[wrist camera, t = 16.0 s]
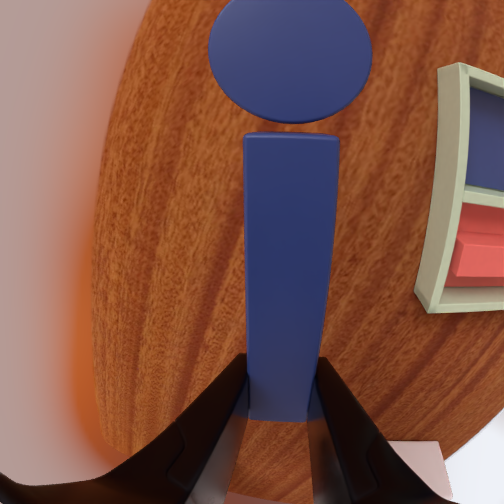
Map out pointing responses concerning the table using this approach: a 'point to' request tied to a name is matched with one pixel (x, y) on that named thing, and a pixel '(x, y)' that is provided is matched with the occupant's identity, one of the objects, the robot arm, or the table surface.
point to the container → (425, 463)
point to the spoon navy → (288, 178)
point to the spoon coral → (478, 255)
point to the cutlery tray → (464, 188)
